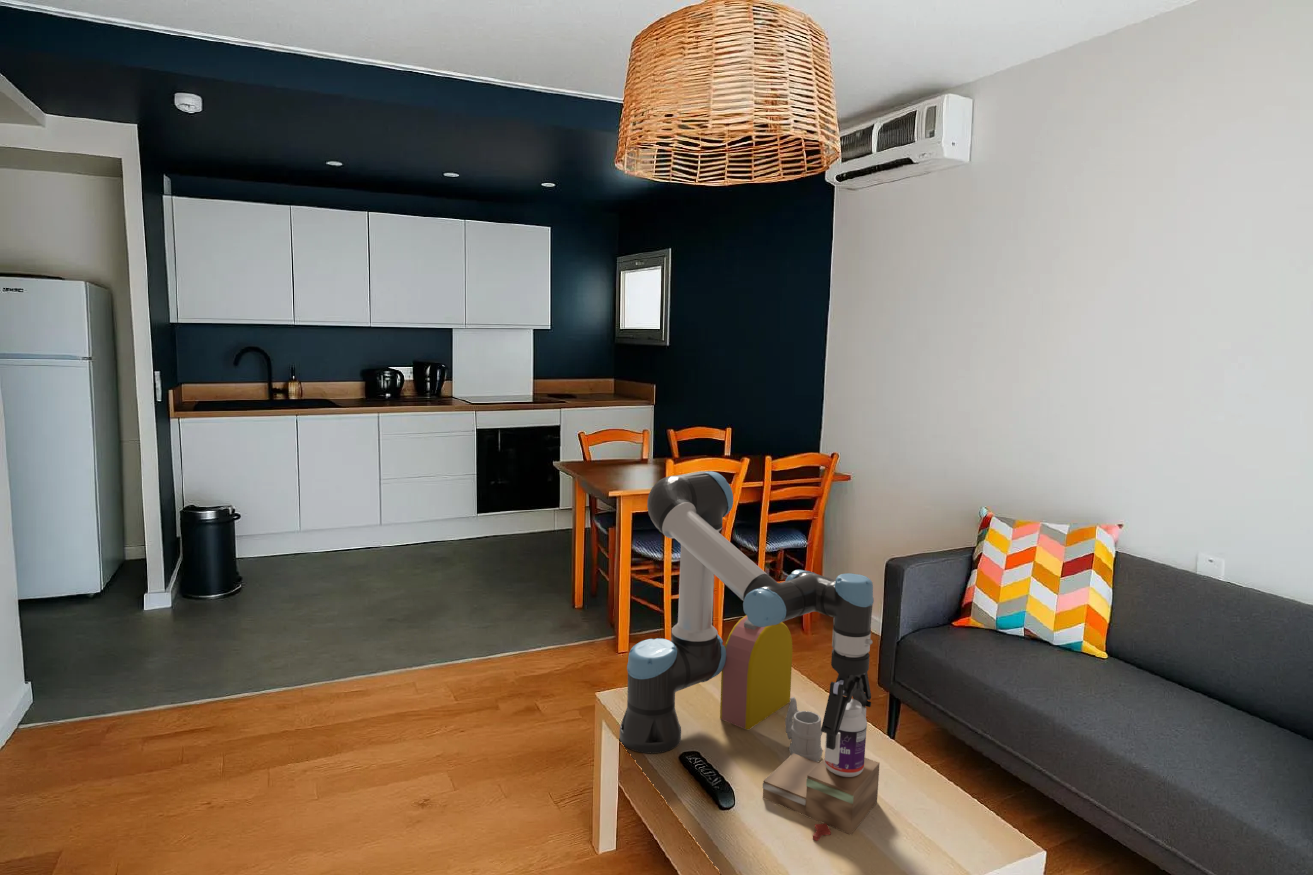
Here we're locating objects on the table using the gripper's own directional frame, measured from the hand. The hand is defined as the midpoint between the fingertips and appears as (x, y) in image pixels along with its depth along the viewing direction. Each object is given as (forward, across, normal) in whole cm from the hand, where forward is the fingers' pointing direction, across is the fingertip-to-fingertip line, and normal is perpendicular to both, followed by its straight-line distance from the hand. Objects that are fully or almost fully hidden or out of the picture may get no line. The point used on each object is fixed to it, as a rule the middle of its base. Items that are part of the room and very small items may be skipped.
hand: (845, 747), depth 163 cm
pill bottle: (+5, 0, 0) cm, 5 cm away
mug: (+14, +15, +17) cm, 27 cm away
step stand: (+14, -3, +5) cm, 15 cm away
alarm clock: (+14, +27, +36) cm, 47 cm away
